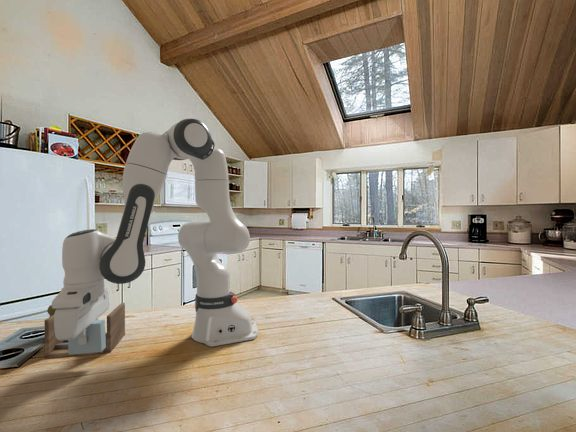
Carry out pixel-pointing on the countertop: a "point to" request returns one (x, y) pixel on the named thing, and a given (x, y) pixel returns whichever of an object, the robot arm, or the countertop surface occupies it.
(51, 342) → the cabinet
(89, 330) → the door panel
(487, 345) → the countertop surface
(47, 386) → the countertop surface
